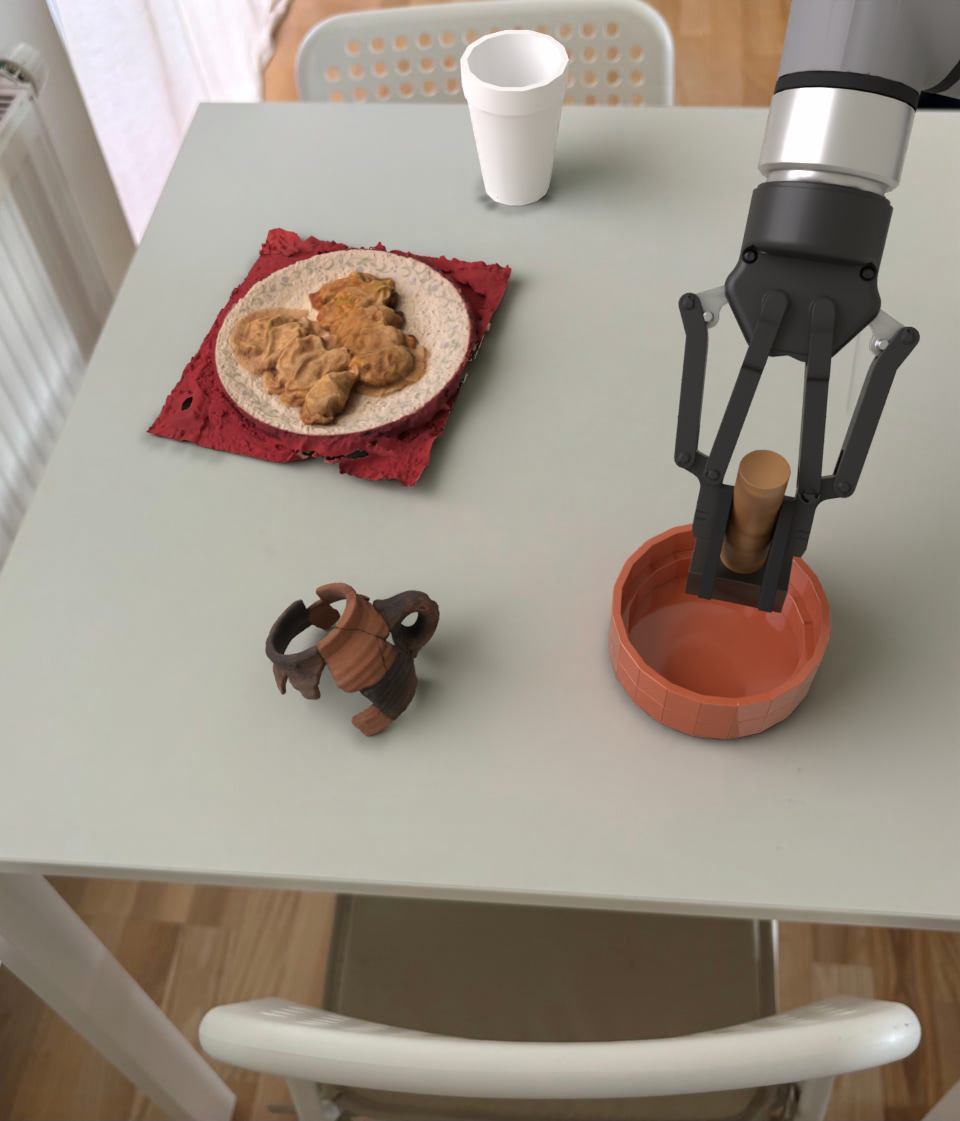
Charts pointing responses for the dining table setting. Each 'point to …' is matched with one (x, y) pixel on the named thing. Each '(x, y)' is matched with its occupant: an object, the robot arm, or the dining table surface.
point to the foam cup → (515, 110)
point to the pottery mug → (356, 649)
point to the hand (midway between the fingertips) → (734, 599)
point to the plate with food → (336, 356)
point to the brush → (748, 534)
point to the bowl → (712, 645)
